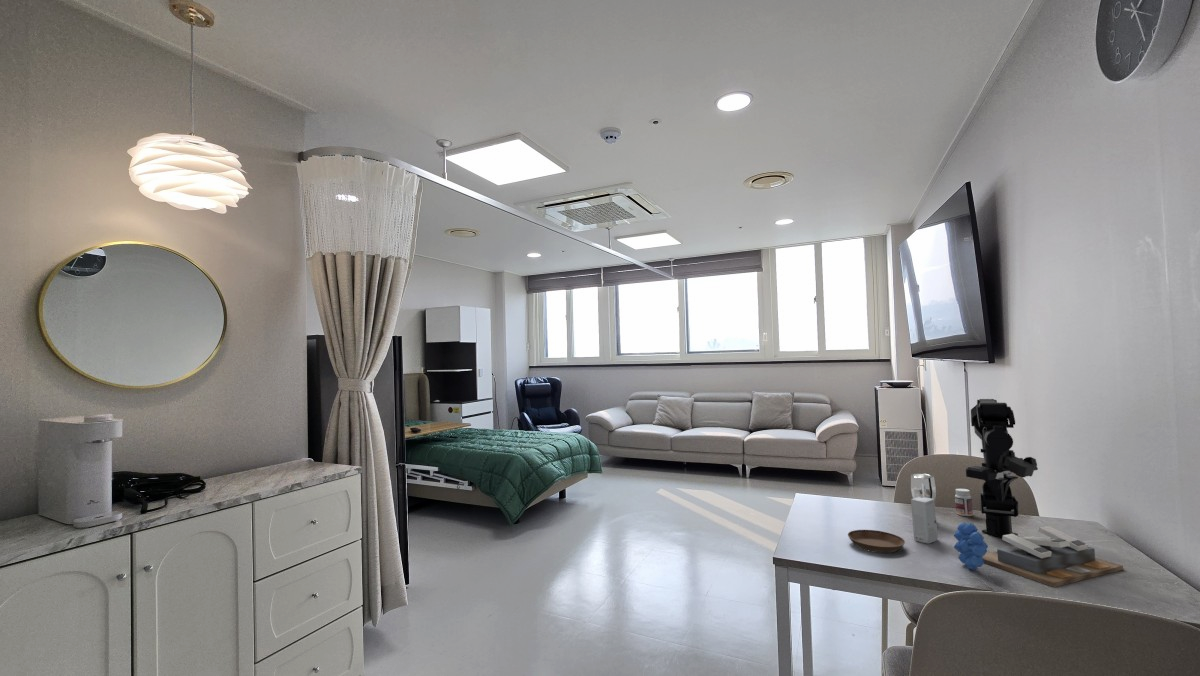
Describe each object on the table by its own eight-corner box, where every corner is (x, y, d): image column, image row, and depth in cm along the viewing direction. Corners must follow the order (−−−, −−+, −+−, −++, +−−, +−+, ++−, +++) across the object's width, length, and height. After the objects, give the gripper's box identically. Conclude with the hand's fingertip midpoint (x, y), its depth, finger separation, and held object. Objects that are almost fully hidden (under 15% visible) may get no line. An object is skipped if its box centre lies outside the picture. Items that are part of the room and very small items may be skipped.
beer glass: (908, 518, 169) (905, 474, 170) (927, 517, 170) (924, 473, 171) (923, 524, 163) (920, 478, 163) (943, 523, 163) (939, 477, 164)
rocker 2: (1047, 529, 136) (1048, 525, 136) (1087, 549, 128) (1088, 544, 127) (1038, 531, 135) (1039, 526, 135) (1078, 551, 126) (1079, 546, 126)
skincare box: (929, 544, 145) (926, 502, 146) (912, 540, 149) (909, 499, 150) (938, 539, 149) (935, 498, 150) (922, 535, 153) (919, 495, 153)
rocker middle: (1031, 540, 134) (1029, 535, 134) (1070, 545, 125) (1068, 539, 126) (1021, 542, 132) (1020, 537, 133) (1060, 547, 124) (1059, 541, 124)
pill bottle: (970, 512, 173) (968, 488, 174) (975, 516, 169) (973, 491, 169) (954, 512, 175) (952, 487, 175) (958, 515, 170) (956, 491, 171)
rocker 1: (1011, 537, 132) (1012, 532, 132) (1051, 556, 123) (1051, 551, 123) (1002, 539, 131) (1002, 534, 130) (1041, 558, 122) (1042, 553, 122)
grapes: (1004, 579, 121) (1000, 529, 122) (974, 578, 122) (970, 528, 123) (976, 560, 133) (973, 515, 133) (949, 560, 134) (945, 514, 134)
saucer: (902, 541, 149) (901, 532, 150) (909, 559, 136) (908, 549, 136) (847, 535, 156) (846, 527, 156) (849, 552, 142) (848, 542, 142)
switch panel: (1040, 545, 141) (1039, 528, 141) (1123, 569, 124) (1121, 549, 124) (975, 559, 133) (973, 541, 134) (1053, 587, 116) (1051, 566, 116)
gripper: (1003, 453, 132) (1008, 512, 131) (1050, 447, 138) (1056, 504, 137) (962, 447, 143) (966, 502, 142) (1007, 442, 149) (1012, 495, 148)
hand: (1001, 501), depth 142 cm, fingers closed
